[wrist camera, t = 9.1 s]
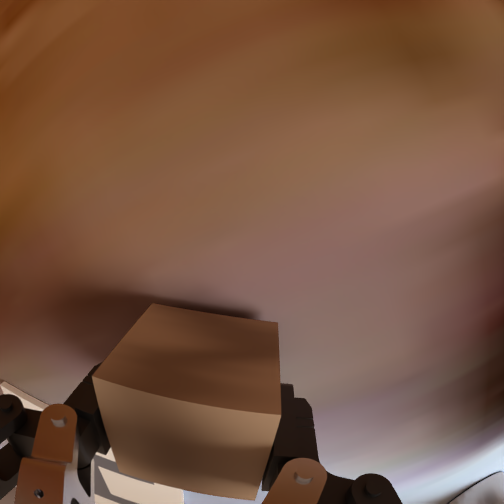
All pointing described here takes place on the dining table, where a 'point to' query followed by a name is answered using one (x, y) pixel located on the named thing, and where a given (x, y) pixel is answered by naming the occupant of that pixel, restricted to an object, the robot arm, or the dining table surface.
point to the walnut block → (193, 400)
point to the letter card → (112, 472)
